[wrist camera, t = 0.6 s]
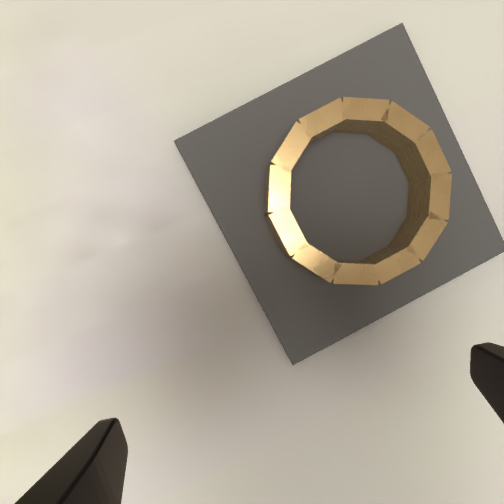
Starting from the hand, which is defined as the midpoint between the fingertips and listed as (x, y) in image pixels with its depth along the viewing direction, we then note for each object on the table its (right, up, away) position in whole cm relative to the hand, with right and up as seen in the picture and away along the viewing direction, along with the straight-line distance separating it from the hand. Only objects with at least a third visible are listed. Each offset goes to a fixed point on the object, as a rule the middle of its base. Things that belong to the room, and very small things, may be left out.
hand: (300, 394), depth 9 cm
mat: (+5, +7, +14) cm, 16 cm away
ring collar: (+5, +7, +13) cm, 16 cm away
